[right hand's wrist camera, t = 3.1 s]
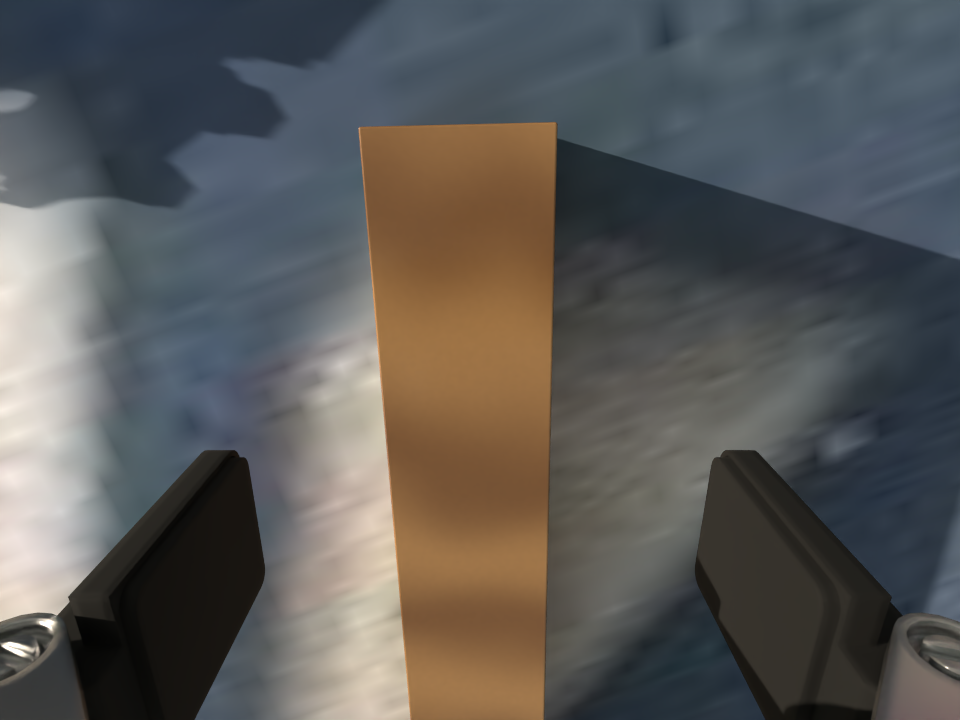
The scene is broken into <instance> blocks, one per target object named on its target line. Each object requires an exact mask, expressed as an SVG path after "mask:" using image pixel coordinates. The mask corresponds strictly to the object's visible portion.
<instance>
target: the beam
mask: <svg viewBox="0 0 960 720" xmlns="http://www.w3.org/2000/svg"><path fill="white" fill-rule="evenodd" d="M359 139H360V150H361V162H362V173H363V184H364V196H365V207H366V218H367V230H368V241H369V253H370V264H371V275H372V287H373V298H374V309H375V321H376V332H377V343H378V355H379V366H380V377H381V389H382V400H383V412H384V423H385V434H386V446H387V457H388V468H389V480H390V491H391V502H392V514H393V525H394V536H395V548H396V559H397V571H398V582H399V593H400V605H401V616H402V627H403V639H404V650H405V661H406V673H407V684H408V695H409V707H410V718H411V720H544V706H545V661H546V616H547V570H548V525H549V480H550V435H551V390H552V344H553V299H554V254H555V209H556V163H557V123H556V122H546V123H504V124H462V125H420V126H378V127H360V128H359Z"/></svg>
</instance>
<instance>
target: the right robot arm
mask: <svg viewBox="0 0 960 720" xmlns="http://www.w3.org/2000/svg"><path fill="white" fill-rule="evenodd" d="M264 576H265V564H264V558H263V552H262V545H261V539H260V533H259V527H258V521H257V514H256V508H255V502H254V496H253V490H252V484H251V477H250V471H249V465H248V461H247V460H246V458H244V457H239V455H238V453H237V452H236V451H235V450H206V451H204V452H202V453H201V454H200V455H199V456H198V457H197V459H196V460H195V461H194V462H193V463H192V464H191V465H190V466H189V467H188V468H187V469H186V470H185V471H184V473H183V474H182V475H181V476H180V477H179V478H178V479H177V480H176V481H175V482H174V483H173V484H172V486H171V487H170V488H169V489H168V490H167V491H166V492H165V493H164V494H163V495H162V496H161V497H160V498H159V500H158V501H157V502H156V503H155V504H154V505H153V506H152V507H151V508H150V509H149V510H148V511H147V512H146V514H145V515H144V516H143V517H142V518H141V519H140V520H139V521H138V522H137V523H136V524H135V525H134V527H133V528H132V529H131V530H130V531H129V532H128V533H127V534H126V535H125V536H124V537H123V538H122V539H121V541H120V542H119V543H118V544H117V545H116V546H115V547H114V548H113V549H112V550H111V551H110V552H109V553H108V555H107V556H106V557H105V558H104V559H103V560H102V561H101V562H100V563H99V564H98V565H97V566H96V567H95V569H94V570H93V571H92V572H91V573H90V574H89V575H88V576H87V577H86V578H85V579H84V580H83V582H82V583H81V584H80V585H79V586H78V587H77V588H76V589H75V590H74V591H73V592H72V593H71V594H70V596H69V597H68V598H69V601H70V602H69V603H68V605H67V606H66V607H65V608H64V609H63V610H62V611H61V612H60V613H59V614H58V616H56V615H54V614H50V613H33V614H26V615H20V616H17V617H14V618H11V619H8V620H5V621H2V622H0V720H195V718H196V716H197V714H198V712H199V710H200V708H201V706H202V704H203V702H204V700H205V698H206V696H207V694H208V692H209V690H210V688H211V686H212V684H213V682H214V680H215V678H216V676H217V674H218V672H219V670H220V668H221V666H222V664H223V662H224V660H225V658H226V656H227V654H228V652H229V650H230V648H231V646H232V644H233V642H234V640H235V638H236V636H237V634H238V632H239V630H240V628H241V626H242V624H243V622H244V620H245V618H246V616H247V614H248V612H249V610H250V608H251V606H252V604H253V602H254V600H255V598H256V596H257V594H258V592H259V591H260V589H261V586H262V584H263V581H264ZM695 576H696V581H697V584H698V586H699V589H700V591H701V593H702V594H703V596H704V598H705V600H706V602H707V604H708V606H709V608H710V610H711V612H712V614H713V616H714V618H715V620H716V622H717V624H718V626H719V628H720V630H721V632H722V634H723V636H724V638H725V640H726V642H727V644H728V646H729V648H730V650H731V652H732V654H733V656H734V658H735V660H736V662H737V664H738V666H739V668H740V670H741V672H742V674H743V676H744V678H745V680H746V682H747V684H748V686H749V688H750V690H751V692H752V694H753V696H754V698H755V700H756V702H757V704H758V706H759V708H760V710H761V712H762V714H763V716H764V718H765V720H960V622H958V621H955V620H952V619H949V618H946V617H943V616H940V615H934V614H927V613H910V614H906V615H904V616H902V614H901V613H900V612H899V611H898V610H897V609H896V608H895V607H894V606H893V605H892V603H891V602H890V601H891V598H892V597H891V596H890V594H889V593H888V592H887V591H886V590H885V589H884V588H883V587H882V586H881V585H880V584H879V583H878V582H877V580H876V579H875V578H874V577H873V576H872V575H871V574H870V573H869V572H868V571H867V570H866V569H865V567H864V566H863V565H862V564H861V563H860V562H859V561H858V560H857V559H856V558H855V557H854V556H853V555H852V553H851V552H850V551H849V550H848V549H847V548H846V547H845V546H844V545H843V544H842V543H841V542H840V541H839V539H838V538H837V537H836V536H835V535H834V534H833V533H832V532H831V531H830V530H829V529H828V528H827V527H826V525H825V524H824V523H823V522H822V521H821V520H820V519H819V518H818V517H817V516H816V515H815V514H814V512H813V511H812V510H811V509H810V508H809V507H808V506H807V505H806V504H805V503H804V502H803V501H802V500H801V498H800V497H799V496H798V495H797V494H796V493H795V492H794V491H793V490H792V489H791V488H790V487H789V486H788V484H787V483H786V482H785V481H784V480H783V479H782V478H781V477H780V476H779V475H778V474H777V473H776V471H775V470H774V469H773V468H772V467H771V466H770V465H769V464H768V463H767V462H766V461H765V460H764V459H763V457H762V456H761V455H760V454H759V453H758V452H756V451H754V450H725V451H724V452H723V453H722V455H721V457H716V458H714V460H713V461H712V465H711V471H710V477H709V484H708V490H707V496H706V502H705V508H704V514H703V521H702V527H701V533H700V539H699V545H698V552H697V558H696V564H695Z"/></svg>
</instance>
